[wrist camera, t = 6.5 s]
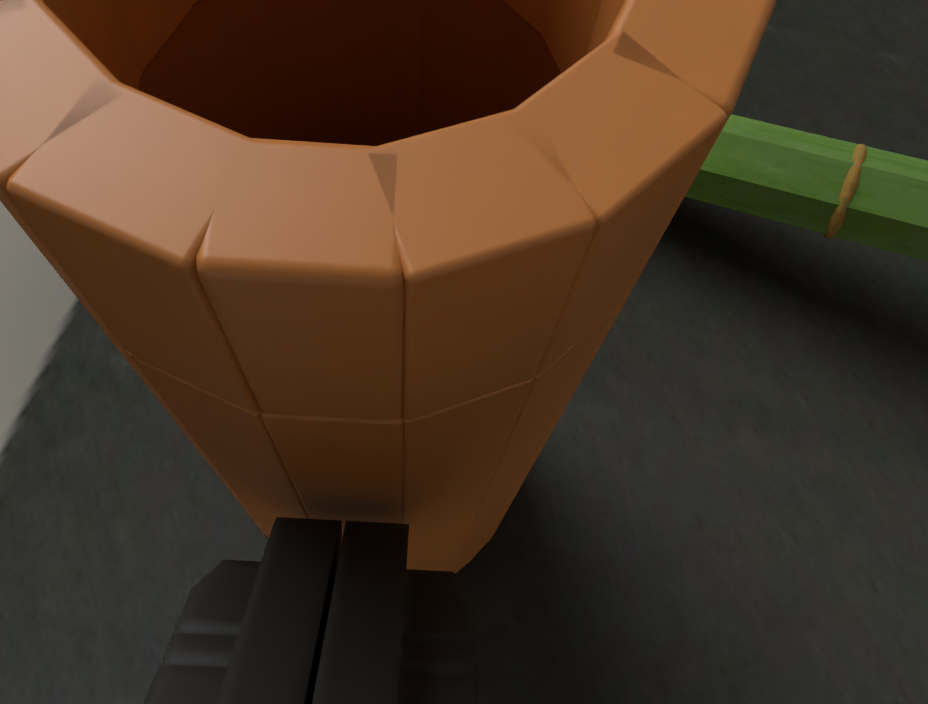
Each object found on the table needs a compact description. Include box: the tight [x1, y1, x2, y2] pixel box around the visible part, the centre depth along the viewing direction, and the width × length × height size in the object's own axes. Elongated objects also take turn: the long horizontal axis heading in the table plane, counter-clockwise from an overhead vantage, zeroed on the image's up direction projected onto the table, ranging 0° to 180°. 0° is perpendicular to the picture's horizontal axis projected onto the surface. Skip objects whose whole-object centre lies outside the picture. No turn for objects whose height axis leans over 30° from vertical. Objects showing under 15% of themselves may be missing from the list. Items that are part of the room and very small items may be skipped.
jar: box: [0, 0, 776, 574], centre depth 13 cm, size 6×6×15 cm
